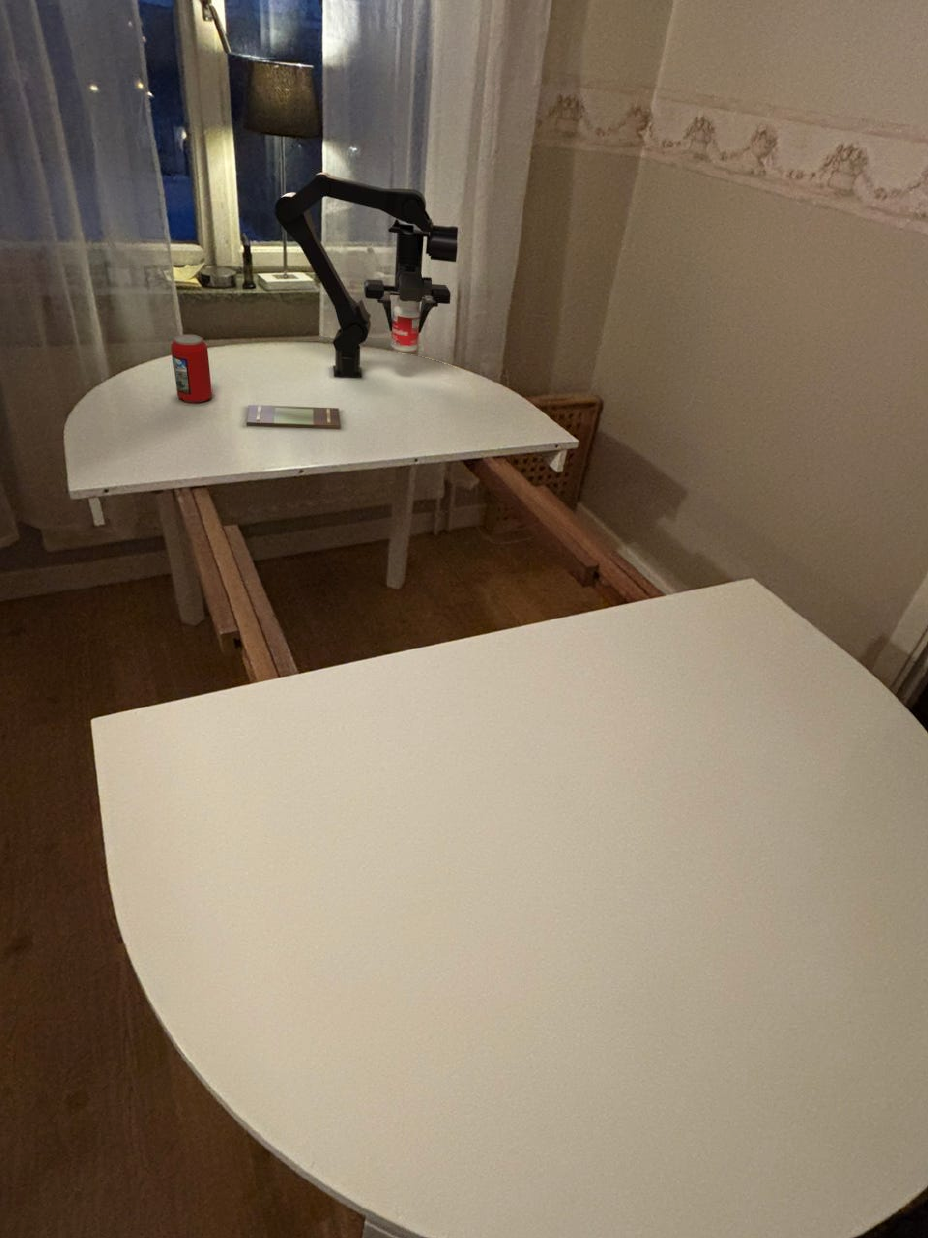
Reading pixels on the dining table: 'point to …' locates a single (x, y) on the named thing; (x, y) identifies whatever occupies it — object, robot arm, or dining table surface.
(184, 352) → the beverage can
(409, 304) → the pill bottle
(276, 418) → the brown and green board
